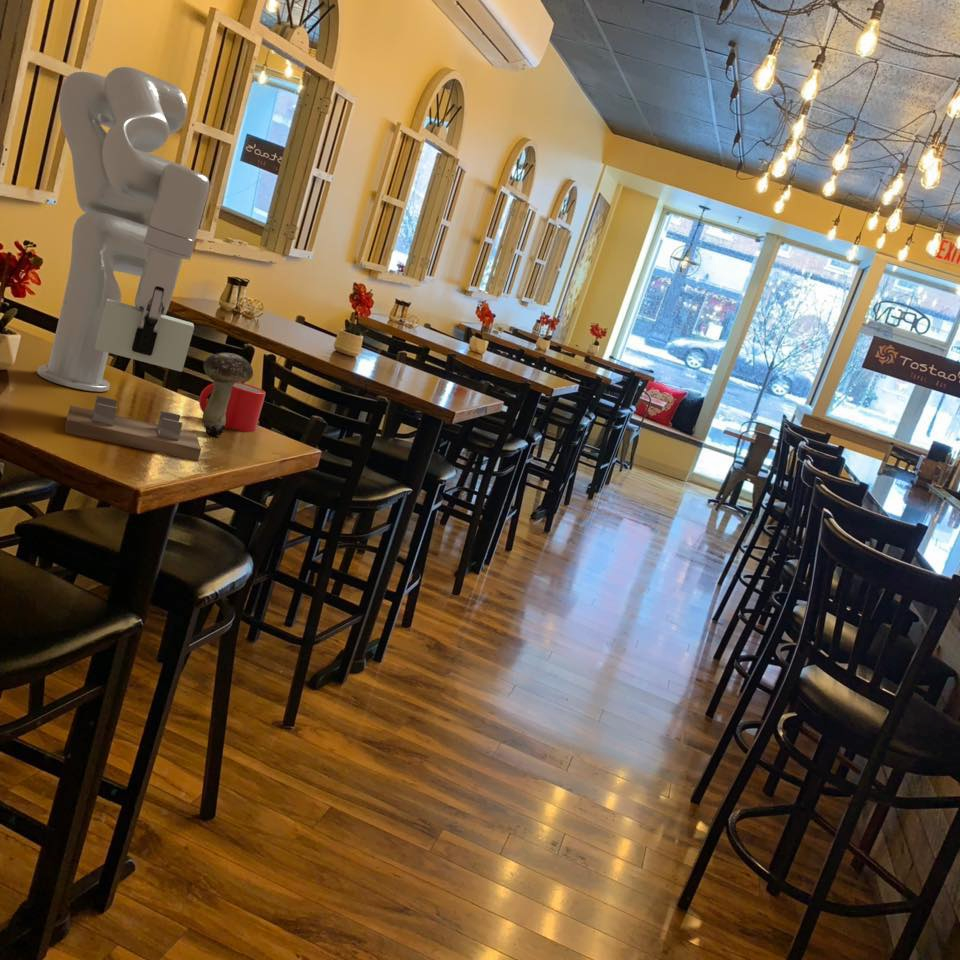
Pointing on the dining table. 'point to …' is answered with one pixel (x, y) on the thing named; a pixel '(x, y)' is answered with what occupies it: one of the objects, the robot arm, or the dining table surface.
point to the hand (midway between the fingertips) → (141, 349)
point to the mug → (239, 406)
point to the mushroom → (223, 387)
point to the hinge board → (133, 430)
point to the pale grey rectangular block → (122, 330)
